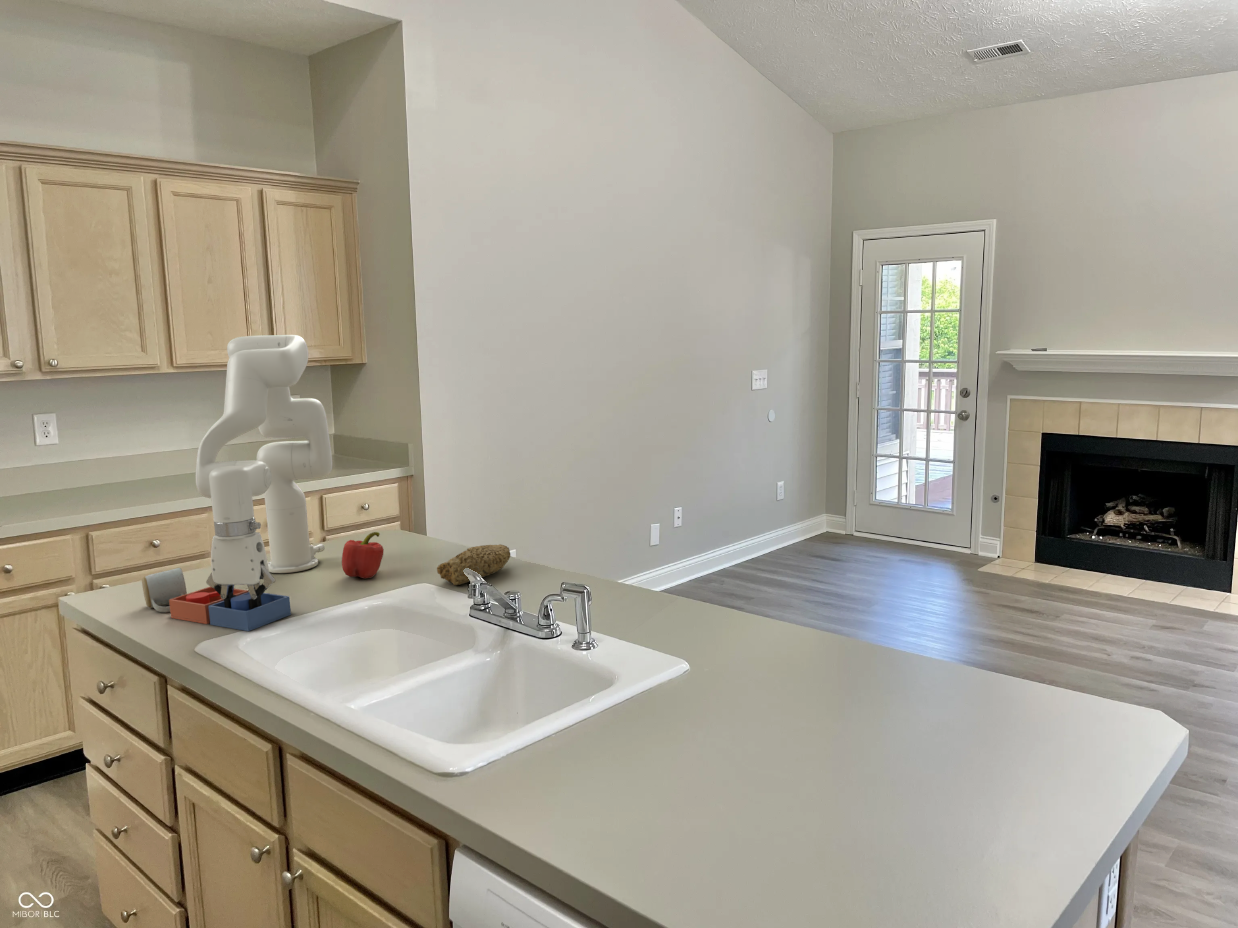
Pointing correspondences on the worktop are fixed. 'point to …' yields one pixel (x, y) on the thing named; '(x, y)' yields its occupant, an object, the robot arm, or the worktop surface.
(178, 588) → the ceramic mug
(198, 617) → the red bin
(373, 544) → the vegetable
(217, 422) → the robot arm
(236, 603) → the blue scoop
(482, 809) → the worktop surface
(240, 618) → the blue bin
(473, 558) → the sponge
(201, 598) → the red scoop
